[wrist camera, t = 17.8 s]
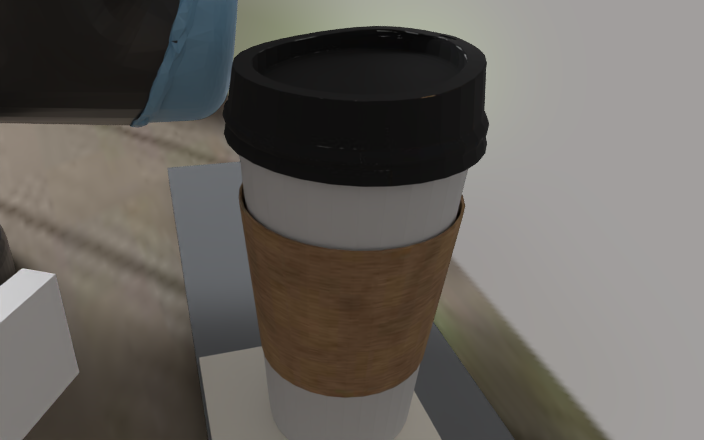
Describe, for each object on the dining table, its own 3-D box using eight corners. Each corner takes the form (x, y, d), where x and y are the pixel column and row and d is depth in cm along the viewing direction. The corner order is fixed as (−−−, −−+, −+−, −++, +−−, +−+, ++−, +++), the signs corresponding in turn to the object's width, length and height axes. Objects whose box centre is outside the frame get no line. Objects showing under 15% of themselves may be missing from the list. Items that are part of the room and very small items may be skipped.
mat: (538, 497, 23) (545, 475, 22) (231, 590, 19) (229, 568, 19) (317, 166, 49) (317, 151, 48) (168, 179, 45) (167, 164, 45)
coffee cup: (479, 424, 24) (563, 65, 17) (306, 532, 20) (317, 109, 13) (361, 315, 30) (384, 13, 23) (206, 379, 26) (173, 29, 18)
